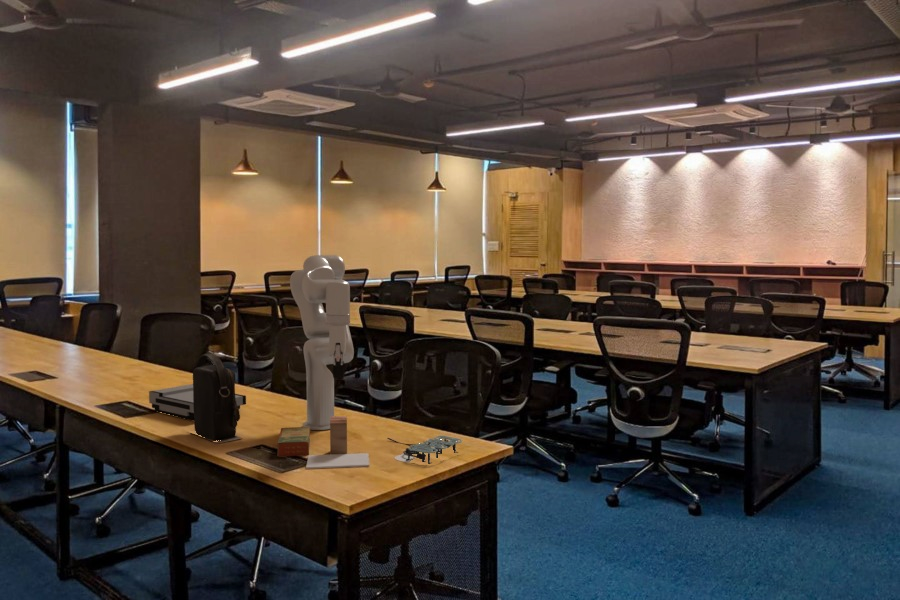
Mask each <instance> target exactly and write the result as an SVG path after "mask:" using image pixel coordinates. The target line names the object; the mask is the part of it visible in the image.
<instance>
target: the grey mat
mask: <svg viewBox="0 0 900 600" xmlns="http://www.w3.org/2000/svg"><path fill="white" fill-rule="evenodd" d="M307 456H308V457H307V462H306V465H305V469H306V470H310V469H311V470H312V469H335V468H339V469H340V468H361V467H363V468H364V467H367V468H368V467H370V458H369V457H370V455H369V452H368V453H367V452H365V453H364V452H361V453H360V452H359V453H347V454H331V455H330V454H309V455H307Z"/></svg>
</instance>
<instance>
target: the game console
mask: <svg viewBox="0 0 900 600" xmlns="http://www.w3.org/2000/svg"><path fill="white" fill-rule="evenodd" d="M235 398H236V404H237V405H238V408H239V410H240V409H241V406H244V405H247V395H244V394H239V393H235ZM148 401H149V404H151V408H153V409H154V412H155V411H158V412H162V413H166V414H170V415H174V416H178V417H181V418H180V419H182V418H185V419H184V420H187V419H189V420H188V421H191V420H194V407H193V383H190V384H186V385H179V386H178V385H177V386H172V387H168V388H162V389H156V390H155V389H154V390H150V391H148ZM174 416H173V417H174ZM178 417H177V418H178Z"/></svg>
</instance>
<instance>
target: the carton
mask: <svg viewBox="0 0 900 600" xmlns="http://www.w3.org/2000/svg"><path fill="white" fill-rule="evenodd" d="M310 435H311V430H310V427H303V426H299V427H298V426H297V427H296V426H294V427H293V426H292V427H281V428H280V432H279V436H278V441H277V451H276V453H277V454H276V456H277V457H295V456H296V457H299V456H309V455H310V445H311V444H310V442H311V437H310Z"/></svg>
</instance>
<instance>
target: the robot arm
mask: <svg viewBox="0 0 900 600" xmlns="http://www.w3.org/2000/svg"><path fill="white" fill-rule="evenodd" d="M302 266H303V267H302V268H303V269H298V270H295V271H293V272H292V274H291V275H290V279H289V284H290V285H289V286H290V291H291V295H292V297H293V300H294V301H295V304H296V305H297V307H298V310H299V312H300V316H301V317H300V319H301V322H302V323H301V324H302V329H303V332H304V335H305V337H306V338H307V339H308V340H307V341H305V342H304V345H303V348H302V349H303V356H304V363H305V374H306V421H304V422H302V427H310V431H326V430H327V431H328V430H330V417H331V416H335V379H343V378H344V377H345V376H344V373H345V367H344V366H345V365H344V364H348V363H350V362H352V360H353V359H354V354H355V351H354V350H355V348H354V344H353V340H352V335H351V331H350V326H349V325H351V287H350V283H349V282H347V281H346V280H344V279H343V278H344V276H345V272H346V264H345V261H344V260H343V258H342V257H341V256H340V255H336V254H335V255H334V254H332V255H330V254H329V255H328V254H325V255H322V254H321V255H319V254H317V255H311V256H309V257H307V258H306V259H305V260H304V262H303V265H302ZM323 303H325V308H324V306H323ZM327 365H332V371H331V370H330V369H329V368H328V367H327ZM332 372H333V373H332Z"/></svg>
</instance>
